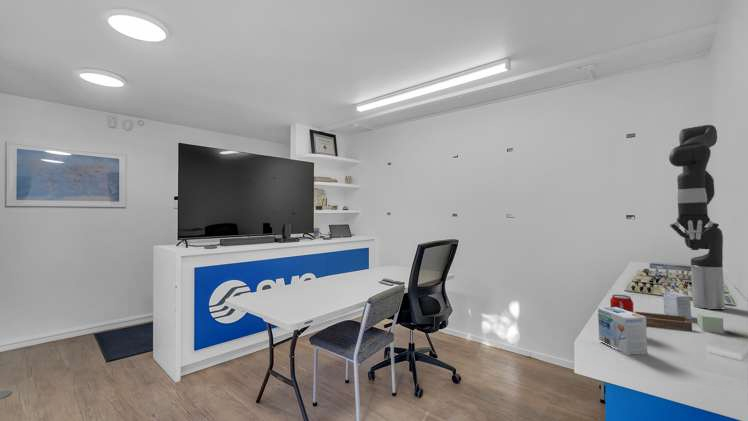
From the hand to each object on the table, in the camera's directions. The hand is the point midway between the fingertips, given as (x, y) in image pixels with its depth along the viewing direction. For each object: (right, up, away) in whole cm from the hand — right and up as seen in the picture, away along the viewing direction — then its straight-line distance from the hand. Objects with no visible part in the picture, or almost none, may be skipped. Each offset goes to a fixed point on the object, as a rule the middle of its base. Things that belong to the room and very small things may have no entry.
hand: (694, 249), depth 116 cm
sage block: (-1, -27, -6) cm, 27 cm away
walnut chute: (-11, -27, +1) cm, 29 cm away
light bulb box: (-40, -28, -18) cm, 52 cm away
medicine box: (+2, -27, +8) cm, 28 cm away
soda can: (-30, -28, -5) cm, 41 cm away
